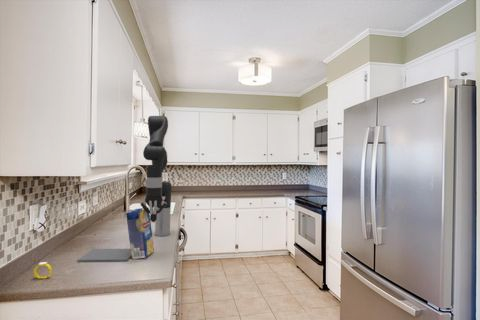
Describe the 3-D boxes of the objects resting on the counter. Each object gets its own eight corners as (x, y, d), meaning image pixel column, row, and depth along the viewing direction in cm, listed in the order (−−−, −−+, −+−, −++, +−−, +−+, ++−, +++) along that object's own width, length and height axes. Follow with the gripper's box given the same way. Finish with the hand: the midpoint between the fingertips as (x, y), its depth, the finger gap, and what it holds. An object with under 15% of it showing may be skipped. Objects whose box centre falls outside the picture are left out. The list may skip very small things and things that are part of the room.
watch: (32, 280, 108) (31, 265, 108) (37, 277, 111) (36, 262, 111) (49, 278, 109) (48, 263, 109) (53, 275, 112) (52, 261, 112)
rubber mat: (92, 250, 143) (92, 248, 143) (136, 250, 145) (137, 248, 145) (77, 262, 127) (77, 259, 127) (127, 261, 129) (127, 259, 129)
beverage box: (154, 250, 143) (148, 207, 143) (145, 257, 132) (139, 211, 132) (141, 251, 144) (135, 208, 144) (131, 259, 133) (125, 213, 133)
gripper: (169, 185, 143) (168, 220, 143) (142, 185, 141) (141, 220, 141) (166, 187, 135) (165, 223, 135) (138, 187, 134) (137, 223, 134)
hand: (153, 221), depth 138 cm, fingers closed
